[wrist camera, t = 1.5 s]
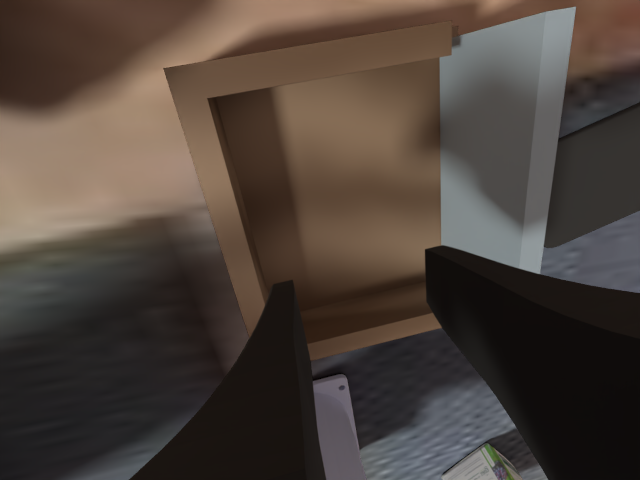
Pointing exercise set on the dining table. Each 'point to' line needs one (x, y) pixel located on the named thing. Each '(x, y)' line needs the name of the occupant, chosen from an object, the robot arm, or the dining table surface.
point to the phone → (595, 177)
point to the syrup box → (483, 466)
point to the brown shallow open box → (325, 177)
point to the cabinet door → (502, 135)
